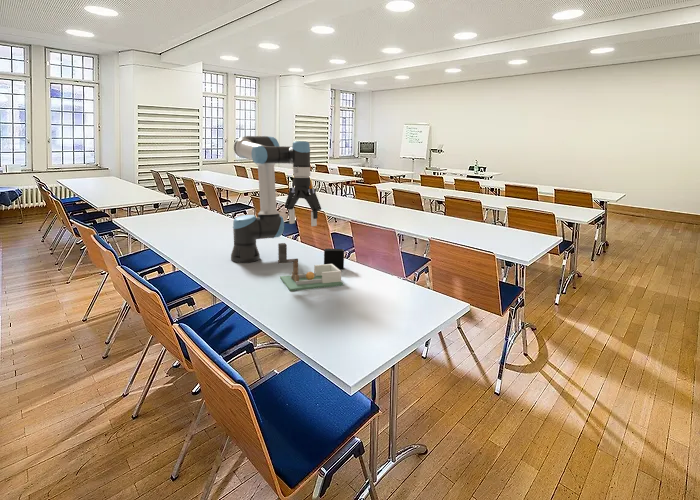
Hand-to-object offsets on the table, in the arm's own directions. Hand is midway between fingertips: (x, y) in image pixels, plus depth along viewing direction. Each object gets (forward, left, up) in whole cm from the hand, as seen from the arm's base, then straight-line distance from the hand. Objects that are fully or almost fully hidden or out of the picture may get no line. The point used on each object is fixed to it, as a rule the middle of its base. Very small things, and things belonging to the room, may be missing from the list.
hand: (302, 224), depth 199 cm
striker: (+2, -8, -25) cm, 26 cm away
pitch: (+2, +3, -27) cm, 27 cm away
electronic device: (-15, +21, -27) cm, 37 cm away
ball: (+2, +3, -24) cm, 24 cm away
